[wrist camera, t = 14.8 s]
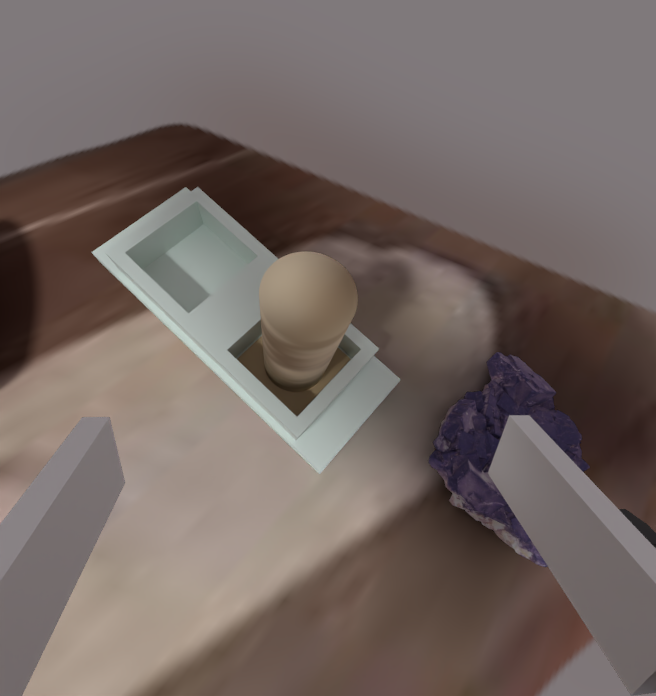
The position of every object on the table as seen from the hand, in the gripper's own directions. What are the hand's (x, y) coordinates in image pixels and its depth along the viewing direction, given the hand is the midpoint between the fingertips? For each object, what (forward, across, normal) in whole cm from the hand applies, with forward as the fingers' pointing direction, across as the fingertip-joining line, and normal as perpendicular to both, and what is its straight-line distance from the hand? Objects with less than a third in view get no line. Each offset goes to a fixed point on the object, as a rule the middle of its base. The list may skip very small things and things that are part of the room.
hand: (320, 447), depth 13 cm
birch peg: (+17, 0, -6) cm, 18 cm away
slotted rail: (+21, -4, -4) cm, 21 cm away
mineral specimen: (+13, +17, -13) cm, 25 cm away
